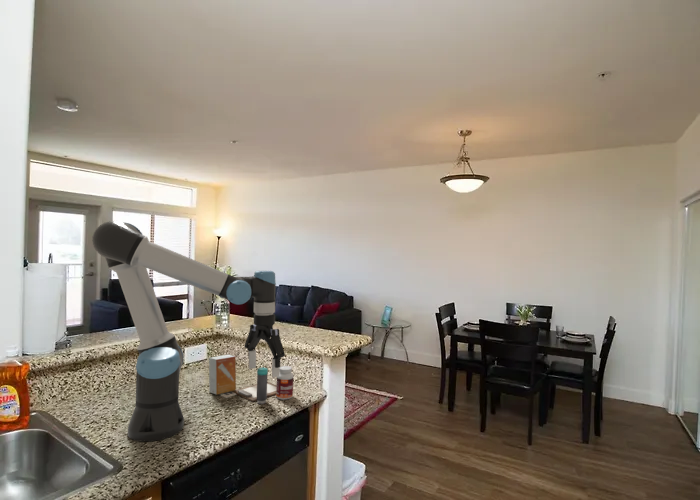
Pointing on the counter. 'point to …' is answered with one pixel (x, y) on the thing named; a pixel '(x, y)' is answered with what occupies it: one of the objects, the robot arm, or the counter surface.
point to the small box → (222, 374)
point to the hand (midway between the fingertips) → (263, 372)
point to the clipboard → (255, 391)
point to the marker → (262, 385)
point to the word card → (228, 394)
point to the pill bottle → (284, 383)
